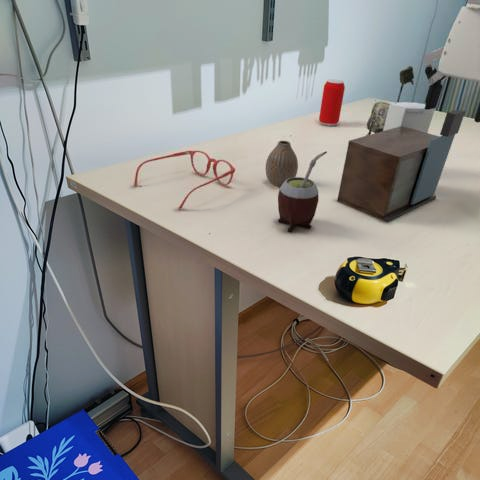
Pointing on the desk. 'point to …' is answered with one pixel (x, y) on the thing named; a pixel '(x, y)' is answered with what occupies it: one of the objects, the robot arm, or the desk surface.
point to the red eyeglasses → (195, 170)
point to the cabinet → (384, 172)
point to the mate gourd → (298, 200)
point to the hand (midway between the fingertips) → (453, 114)
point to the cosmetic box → (408, 116)
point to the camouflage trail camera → (387, 104)
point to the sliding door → (437, 157)
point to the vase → (281, 164)
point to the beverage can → (331, 102)
